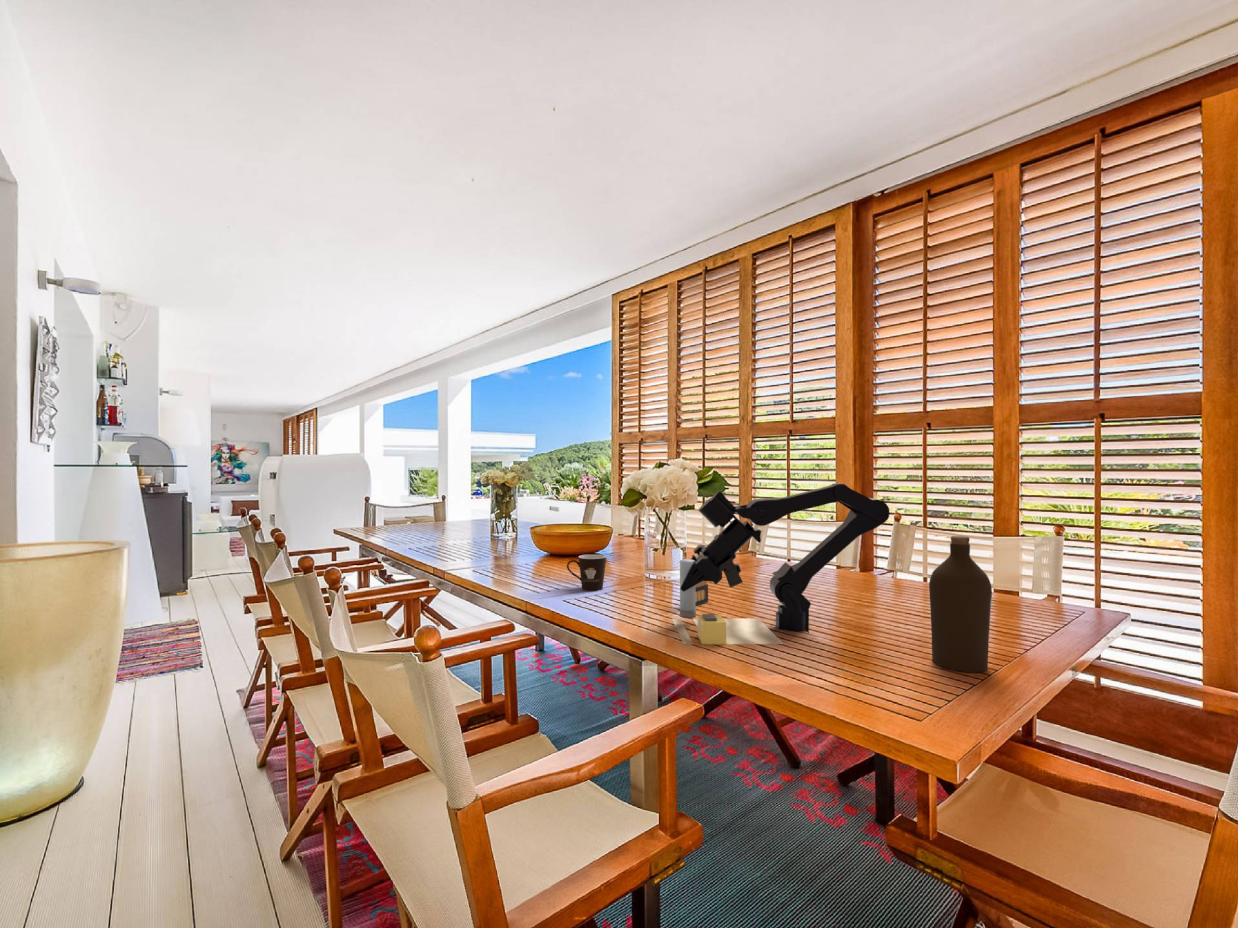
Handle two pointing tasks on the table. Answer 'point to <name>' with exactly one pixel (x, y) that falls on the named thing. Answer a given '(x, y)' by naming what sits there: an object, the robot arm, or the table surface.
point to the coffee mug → (590, 571)
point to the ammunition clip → (701, 593)
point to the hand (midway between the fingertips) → (681, 588)
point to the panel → (736, 632)
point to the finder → (711, 629)
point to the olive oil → (960, 611)
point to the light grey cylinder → (686, 592)
